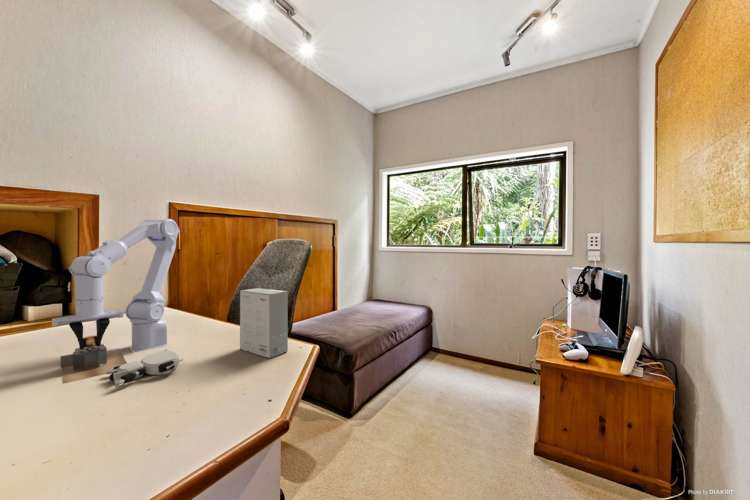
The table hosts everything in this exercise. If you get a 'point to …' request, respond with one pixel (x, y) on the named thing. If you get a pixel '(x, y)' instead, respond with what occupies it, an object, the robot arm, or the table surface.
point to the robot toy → (145, 367)
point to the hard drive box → (264, 321)
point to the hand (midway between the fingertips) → (90, 347)
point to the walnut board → (112, 362)
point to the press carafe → (85, 358)
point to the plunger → (90, 341)
